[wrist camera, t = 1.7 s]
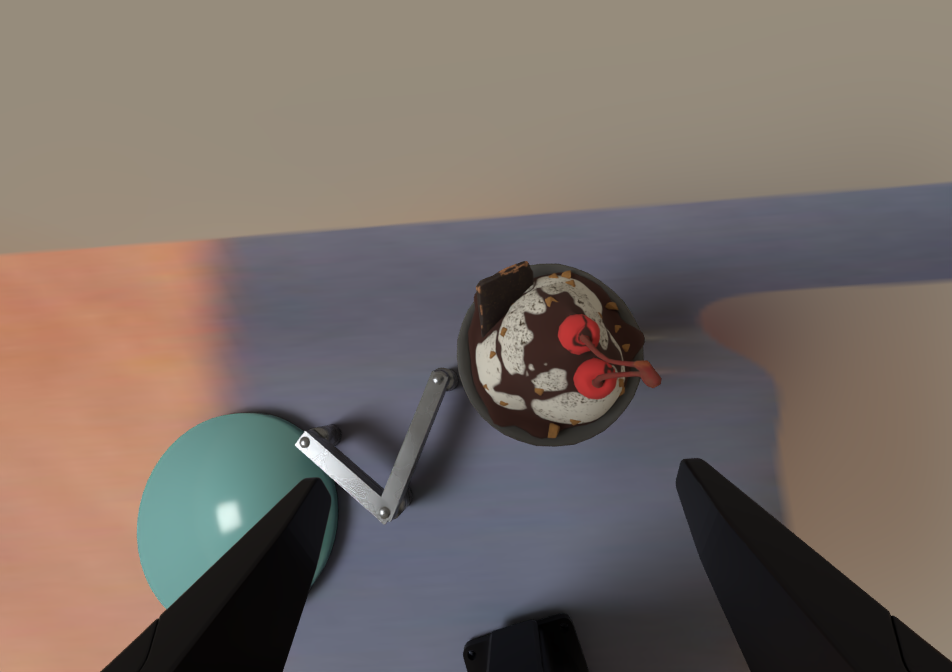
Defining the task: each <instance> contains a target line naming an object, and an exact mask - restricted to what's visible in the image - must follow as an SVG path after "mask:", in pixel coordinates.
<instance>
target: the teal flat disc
mask: <svg viewBox="0 0 952 672" xmlns="http://www.w3.org/2000/svg"><path fill="white" fill-rule="evenodd" d="M303 433H304V431H302V430H301V429H300V428H298V427H297V426H295V425H294V424H292V423H290V422H288V421H286V420H284V419H282V418H279V417H276V416H273V415H269V414H263V413H237V414H229V415H223V416H219V417H215V418H212V419H209V420H207V421H205V422H202V423H200V424H198V425H197V426H195V427H193V428H192V429H190V430H188V431H187V432H186V433H185V434H183V435H182V436H181V437H179V438H178V439H177V440H176V441H175V442H174V443H173V444H172V445H171V446H170V447H169V448H168V449H167V451H166V452H165V453H164V454H163V456H162V457H161V458H160V460H159V461H158V463H157V464H156V466H155V468H154V469H153V471H152V473H151V475H150V477H149V479H148V481H147V484H146V487H145V489H144V492H143V495H142V499H141V503H140V507H139V514H138V521H137V542H138V552H139V557H140V562H141V565H142V568H143V571H144V574H145V577H146V579H147V581H148V583H149V585H150V588H151V589H152V591H153V593H154V594H155V596H156V597H157V599H158V600H159V601H160V602H161V604H162V605H163V606H164V607H165V608H166V609H168V608H169V607H170V606H171V605H172V604H173V603H174V602H175V601H176V600H177V599H178V598H179V597H180V596H181V595H182V594H183V593H184V592H185V591H186V590H187V589H188V588H189V587H190V586H192V585H193V584H194V583H195V582H196V581H197V580H198V579H199V578H200V577H201V576H202V575H203V574H204V573H205V572H206V571H207V570H208V569H209V568H210V567H211V566H212V565H213V564H214V563H215V562H217V561H218V560H219V559H220V558H221V557H222V556H223V555H224V554H225V553H226V552H227V551H228V550H229V549H230V548H231V547H232V546H233V545H234V544H235V543H236V542H237V541H238V540H239V539H240V538H242V537H243V536H244V535H245V534H246V533H247V532H248V531H249V530H250V529H251V528H252V527H253V526H254V525H255V524H256V523H257V522H258V521H259V520H260V519H261V518H262V517H263V516H264V515H265V514H267V513H268V512H269V511H270V510H271V509H272V508H273V507H274V506H275V505H276V504H277V503H278V502H279V501H280V500H281V499H282V498H283V497H284V496H285V495H286V494H287V493H288V492H289V491H290V490H292V489H293V488H294V487H295V486H296V485H297V484H298V483H299V482H300V481H301V480H303V479H304V478H312V477H319V478H321V479H322V481H323V483H324V484H325V486H326V488H327V489H328V491H329V493H330V495H331V500H332V502H331V508H330V513H329V517H328V521H327V526H326V530H325V535H324V539H323V543H322V548H321V552H320V557H319V560H318V564H317V568H316V571H315V574H314V578H313V581H312V584H311V587H312V585H313V584H314V583H315V582H316V580H317V579H318V577H319V576H320V574H321V572H322V570H323V569H324V567H325V565H326V563H327V560H328V558H329V556H330V554H331V550H332V547H333V544H334V541H335V536H336V530H337V523H338V498H337V492H336V486H335V482H334V480H333V479H332V478H331V477H330V476H329V475H328V474H326V473H325V472H324V471H323V470H322V469H321V468H320V467H319V466H317V465H316V464H315V463H314V462H313V461H312V460H311V459H310V458H308V457H307V456H306V455H305V454H304V453H303V452H302V451H301V450H299V449H298V448H297V447H296V446H295V444H296V443H297V441H298V440H299V438H300V436H301V435H302V434H303ZM311 587H310V588H311Z"/></svg>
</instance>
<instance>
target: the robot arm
mask: <svg viewBox="0 0 952 672" xmlns="http://www.w3.org/2000/svg"><path fill="white" fill-rule="evenodd" d="M676 488H677V492H678V495H679V498H680V501H681V504H682V507H683V510H684V513H685V516H686V519H687V522H688V525H689V528H690V531H691V534H692V537H693V540H694V543H695V546H696V549H697V551H698V554H699V557H700V559H701V562H702V564H703V567H704V569H705V571H706V573H707V576H708V578H709V580H710V582H711V584H712V587H713V589H714V591H715V593H716V596H717V598H718V600H719V602H720V604H721V607H722V609H723V611H724V613H725V616H726V618H727V620H728V622H729V624H730V627H731V629H732V631H733V633H734V635H735V638H736V640H737V642H738V644H739V647H740V649H741V651H742V653H743V655H744V658H745V660H746V662H747V664H748V667H749V669H750V671H751V672H952V662H951V661H950V660H949V659H948V658H946V657H945V656H944V655H943V654H941V653H940V652H939V651H938V650H936V649H935V648H934V647H933V646H931V645H930V644H929V643H927V642H926V641H925V640H924V639H922V638H921V637H920V636H919V635H917V634H916V633H915V632H914V631H913V630H911V629H910V628H909V627H908V626H907V625H905V624H904V623H903V622H902V621H900V620H899V619H898V618H897V617H895V616H891V615H890V613H889V611H888V610H887V609H885V608H884V607H883V606H882V605H881V604H879V603H878V602H877V601H876V600H874V599H873V598H872V597H871V596H870V595H868V594H867V593H866V592H865V591H863V590H862V589H861V588H860V587H858V586H857V585H856V584H855V583H853V582H852V581H851V580H850V579H849V578H848V577H846V576H845V575H844V574H843V573H841V572H840V571H839V570H838V569H836V568H835V567H834V566H832V564H830V563H829V562H828V561H826V560H825V559H824V558H823V557H822V556H821V555H819V554H818V553H817V552H815V551H814V550H813V549H812V548H811V547H809V546H808V545H807V544H806V543H805V542H803V541H802V540H801V539H800V538H799V537H797V536H796V535H795V534H794V533H792V532H791V531H790V530H789V529H788V528H786V527H785V526H784V525H783V524H781V523H780V522H779V521H778V520H776V519H775V518H774V517H773V516H772V515H770V514H769V513H768V512H767V511H765V510H764V509H763V508H762V507H761V506H759V505H758V504H757V503H756V502H754V501H753V500H752V499H751V498H750V497H748V496H747V495H746V494H745V493H743V492H742V491H741V490H740V489H739V488H737V487H736V486H735V485H734V484H732V483H731V482H730V481H729V480H728V479H726V478H725V477H724V476H723V475H721V474H720V473H719V472H718V471H716V470H715V469H714V468H713V467H712V466H710V465H709V464H708V463H707V462H705V461H704V460H702V459H700V458H691V459H683V460H682V461H681V463H680V466H679V470H678V474H677V478H676ZM331 502H332V500H331V495H330V493H329V491H328V489H327V488H326V486H325V484H324V483H323V481H322V479H321V478H319V477H312V478H304V479H303V480H301V481H300V482H299V483H298V484H297V485H296V486H295V487H294V488H293V489H292V490H290V491H289V492H288V493H287V494H286V495H285V496H284V497H283V498H282V499H281V500H280V501H279V502H278V503H277V504H276V505H275V506H274V507H273V508H272V509H271V510H270V511H269V512H268V513H267V514H265V515H264V516H263V517H262V518H261V519H260V520H259V521H258V522H257V523H256V524H255V525H254V526H253V527H252V528H251V529H250V530H249V531H248V532H247V533H246V534H245V535H244V536H243V537H242V538H240V539H239V540H238V541H237V542H236V543H235V544H234V545H233V546H232V547H231V548H230V549H229V550H228V551H227V552H226V553H225V554H224V555H223V556H222V557H221V558H220V559H219V560H218V561H217V562H215V563H214V564H213V565H212V566H211V567H210V568H209V569H208V570H207V571H206V572H205V573H204V574H203V575H202V576H201V577H200V578H199V579H198V580H197V581H196V582H195V583H194V584H193V585H192V586H190V587H189V588H188V589H187V590H186V591H185V592H184V593H183V594H182V595H181V596H180V597H179V598H178V599H177V600H176V601H175V602H174V603H173V604H172V605H171V606H170V607H169V608H168V609H166V610H165V611H164V612H163V613H162V614H161V615H160V617H159V619H156V620H155V621H154V622H153V623H152V624H151V625H150V626H149V627H148V628H147V629H145V630H144V631H143V632H142V633H141V634H140V635H139V636H138V637H137V638H136V639H135V640H134V641H133V642H132V643H131V644H130V645H129V646H128V647H126V648H125V649H124V650H123V651H122V652H121V653H120V654H119V655H118V656H117V657H116V658H115V659H114V660H113V661H111V662H110V663H109V664H108V665H107V666H106V667H105V668H104V669H103V670H102V671H100V672H283V669H284V666H285V663H286V660H287V657H288V654H289V651H290V648H291V645H292V642H293V639H294V636H295V633H296V629H297V626H298V623H299V620H300V617H301V614H302V611H303V608H304V605H305V602H306V599H307V596H308V593H309V590H310V587H311V584H312V581H313V578H314V574H315V571H316V568H317V564H318V560H319V557H320V552H321V548H322V543H323V539H324V535H325V530H326V526H327V521H328V517H329V513H330V508H331ZM562 623H567V624H568V626H567V627H566V628H562V627H561V626H560V625H561V624H562ZM470 650H473V651H475V653H476V654H475V655H471V654H470V653H469V651H470ZM463 657H464V661H465V665H466V668H467V672H589V670H588V667H587V664H586V661H585V658H584V655H583V652H582V649H581V646H580V643H579V640H578V637H577V634H576V631H575V628H574V625H573V622H572V620H571V618H570V617H569V616H568V615H567V614H564V613H563V614H558V615H554V616H551V617H548V618H544V619H541V620H538V621H534V620H528V621H525V622H522V623H518V624H515V625H512V626H508V627H505V628H502V629H498V630H495V631H493V632H492V633H491V635H488V636H484V637H481V638H478V639H474V640H471V641H469V642H467V643H466V645H465V647H464V652H463Z"/></svg>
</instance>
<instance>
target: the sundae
mask: <svg viewBox="0 0 952 672" xmlns="http://www.w3.org/2000/svg"><path fill="white" fill-rule="evenodd" d="M476 291H477V292H476V293H475V296H474V302H473V304H472V305H471V307H470V308H469V309H468V311H467V313H466V316H465V318H464V320H463V323H462V326H461V329H460V333H459V336H458V340H457V361H458V371H459V376H460V379H461V381H462V384H463V387H464V390H465V392H466V394H467V396H468V398H469V400H470V402H471V404H472V405H473V407H474V408H475V409H476V410H477V412H478V413H479V414H480V415H481V417H483V418H484V419H485V420H486V421H487V422H488V423H489V424H490V425H491V426H492V427H494V428H495V429H497V430H498V431H500V432H501V433H503V434H504V435H506V436H509V437H511V438H513V439H516V440H518V441H521V442H525V443H528V444H532V445H535V446H565V445H574V444H577V443H579V442H582V441H585V440H587V439H590V438H592V437H594V436H596V435H598V434H599V433H601V432H603V431H605V430H606V429H607V428H608V427H609V426H610V425H611V424H613V423H614V422H615V421H616V420H617V419H618V418H619V416H620V415H621V414H622V413H623V412H624V411H625V409H626V408H627V406H628V405H629V403H630V402H631V400H632V399H633V397H634V395H635V392H636V390H637V387H638V384H639V382H640V378H642V380H643V382H644V383H645V384H646V385H647V386H648V387H651V388H655V387H657V386H658V385H660V384H661V377H660V376H659V375H658V373H657V372H656V371H655V369H654V368H653V367H652V365H651V364H650V363H649V362H648V361H647V360H646V361H644V360H643V345H644V342H645V337H644V335H643V333H642V332H641V331H640V329H639V327H638V325H637V323H636V321H635V319H634V317H633V315H632V313H631V312H630V310H629V309H628V307H627V306H626V304H625V303H624V302H623V300H622V299H621V298H620V297H619V296H618V295H617V294H616V293H615V292H614V291H612V290H611V289H610V288H609V287H608V286H606V285H605V284H604V283H602V282H601V281H600V280H598V279H597V278H595V277H593V276H592V275H590V274H589V273H586V272H584V271H581V270H579V269H576V268H573V267H569V266H565V265H561V264H536V265H529V263H528V262H527V261H523V262H521V263H518V264H515V265H512V266H510V267H507V268H505V269H503V270H501V271H499V272H498V273H496V274H495V275H493V276H491V277H488V278H485V279H483V280H481V281H480V282H479V283H478V285H477V286H476Z"/></svg>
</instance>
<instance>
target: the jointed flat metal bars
mask: <svg viewBox="0 0 952 672" xmlns="http://www.w3.org/2000/svg"><path fill="white" fill-rule="evenodd" d="M457 384H458V376H457V374H456V373H455V372H454V371H452V370H449V369H446V368H438V369H436V370H434V371H432V373H431V375H430V378H429V380H428V383H427V385H426V388H425V390H424V393H423V395H422V398H421V400H420V403H419V405H418V407H417V410H416V412H415V415H414V417H413V420H412V422H411V425H410V427H409V430H408V432H407V435H406V437H405V440H404V442H403V445H402V447H401V449H400V452H399V454H398V457H397V459H396V462H395V464H394V467H393V469H392V472H391V474H390V477H389V479H388V482H387V484H386V487H385V489H383V488H382V487H381V486H380V485H379V484H378V483H376V482H375V481H374V480H373V479H372V478H371V477H370V476H368V475H367V474H366V473H365V472H364V471H363V470H361V469H360V468H359V467H358V466H357V465H356V464H355V463H353V462H352V461H351V460H350V459H349V458H348V457H346V456H345V455H344V454H343V453H342V452H341V451H340V450H338V449H337V448H336V447H335V445H337V444H338V443H339V441H340V439H341V431H340V429H339V428H338V427H337V426H335V425H327V426H322V427H317V428H312V429H310V430H308V431H305V432H304V433H303V434H302V435H301V436H300V438H299V440H298V441H297V443H296V444H295V446H296V447H297V448H298V449H299V450H301V451H302V452H303V453H304V454H305V455H306V456H307V457H308V458H310V459H311V460H312V461H313V462H314V463H315V464H316V465H317V466H319V467H320V468H321V469H322V470H323V471H324V472H325V473H326V474H328V475H329V476H330V477H331V478H332V479H333V480H334V481H335V482H337V483H338V484H339V485H340V486H341V487H342V488H343V489H344V490H346V491H347V492H348V493H349V494H350V495H351V496H352V497H353V498H355V499H356V500H357V501H358V502H359V503H360V504H361V505H362V506H364V507H365V508H366V509H367V510H368V511H369V512H370V513H371V514H373V515H374V516H375V517H376V518H377V519H378V520H379V521H380V522H382V523H383V524H384V525H385V524H386V523H387V522H388V521H390V522H391V521H392V520H393V519H396V518H397V517H398V516H399V515H400V514H401V513H402V512H403V511H404V510H405V509H406V508H407V506H408V505H409V504H410V503H411V501H412V492H411V490H410V489H409V487H408V485H409V483H410V480H411V478H412V475H413V473H414V470H415V468H416V465H417V463H418V460H419V458H420V455H421V453H422V450H423V447H424V445H425V442H426V440H427V437H428V435H429V432H430V430H431V427H432V425H433V422H434V420H435V417H436V415H437V412H438V410H439V407H440V405H441V402H442V400H443V397H444V395H445V392H446V391H451V390H453V389H455V388H456V386H457Z"/></svg>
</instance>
